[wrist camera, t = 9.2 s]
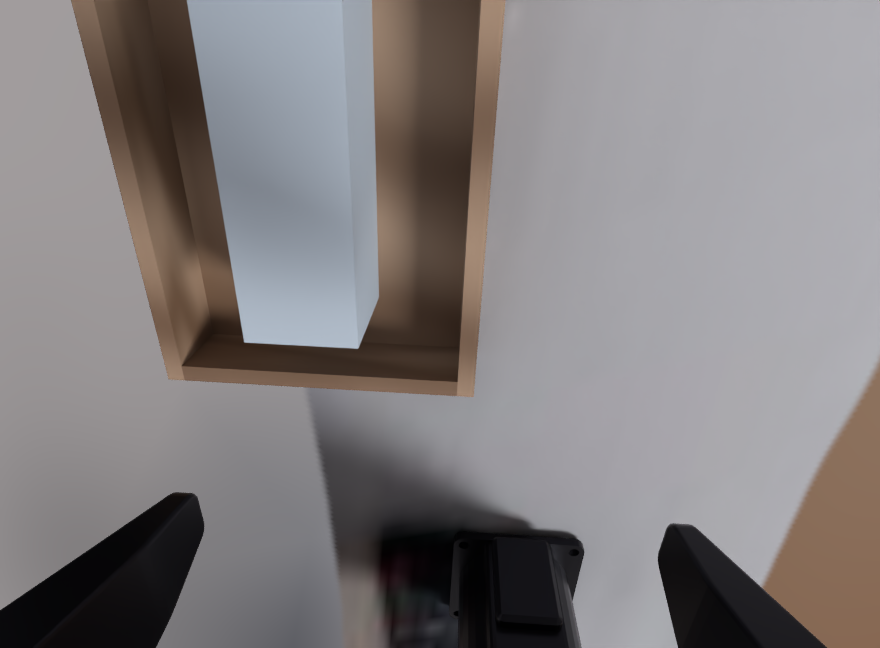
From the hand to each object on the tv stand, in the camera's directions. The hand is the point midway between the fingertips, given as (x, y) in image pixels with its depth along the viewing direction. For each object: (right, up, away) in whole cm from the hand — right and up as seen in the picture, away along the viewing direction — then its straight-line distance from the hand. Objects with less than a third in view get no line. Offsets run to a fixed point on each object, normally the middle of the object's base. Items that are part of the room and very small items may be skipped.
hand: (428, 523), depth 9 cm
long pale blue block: (-4, +10, +7) cm, 13 cm away
